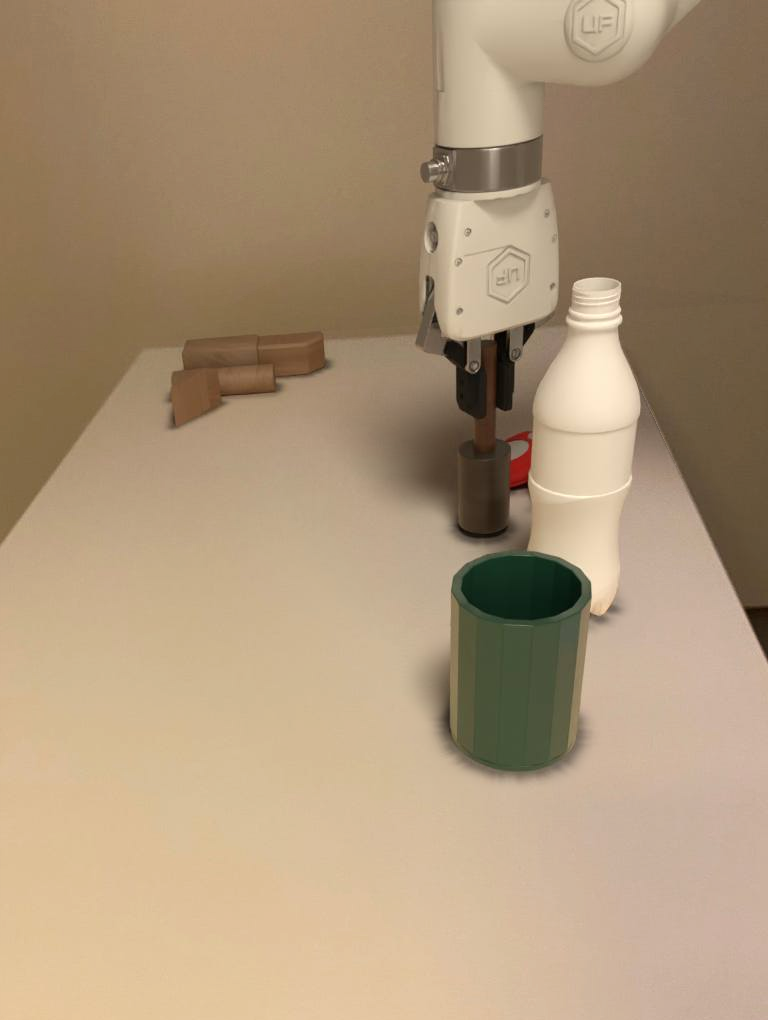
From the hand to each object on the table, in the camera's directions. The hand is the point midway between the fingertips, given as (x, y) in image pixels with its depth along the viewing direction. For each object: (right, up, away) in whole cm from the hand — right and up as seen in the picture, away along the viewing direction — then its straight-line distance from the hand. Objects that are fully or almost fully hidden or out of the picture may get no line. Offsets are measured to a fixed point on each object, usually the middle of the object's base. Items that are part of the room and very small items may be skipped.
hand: (484, 408), depth 81 cm
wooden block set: (-21, +10, +37) cm, 44 cm away
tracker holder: (+6, -4, +14) cm, 16 cm away
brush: (+1, -8, +6) cm, 11 cm away
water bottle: (+6, -17, -3) cm, 18 cm away
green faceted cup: (-1, -25, -15) cm, 29 cm away
